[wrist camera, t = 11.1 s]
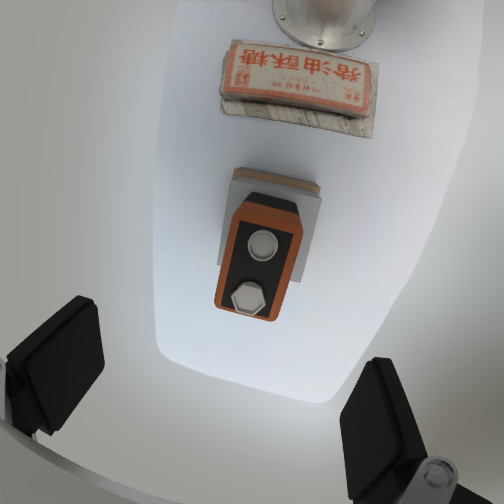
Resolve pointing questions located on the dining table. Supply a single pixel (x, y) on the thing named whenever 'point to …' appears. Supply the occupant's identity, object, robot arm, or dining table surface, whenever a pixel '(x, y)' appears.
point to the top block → (303, 198)
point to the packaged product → (300, 86)
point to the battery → (259, 256)
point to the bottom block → (276, 179)
